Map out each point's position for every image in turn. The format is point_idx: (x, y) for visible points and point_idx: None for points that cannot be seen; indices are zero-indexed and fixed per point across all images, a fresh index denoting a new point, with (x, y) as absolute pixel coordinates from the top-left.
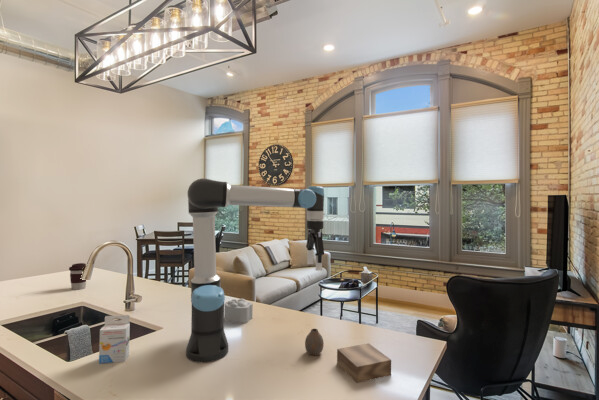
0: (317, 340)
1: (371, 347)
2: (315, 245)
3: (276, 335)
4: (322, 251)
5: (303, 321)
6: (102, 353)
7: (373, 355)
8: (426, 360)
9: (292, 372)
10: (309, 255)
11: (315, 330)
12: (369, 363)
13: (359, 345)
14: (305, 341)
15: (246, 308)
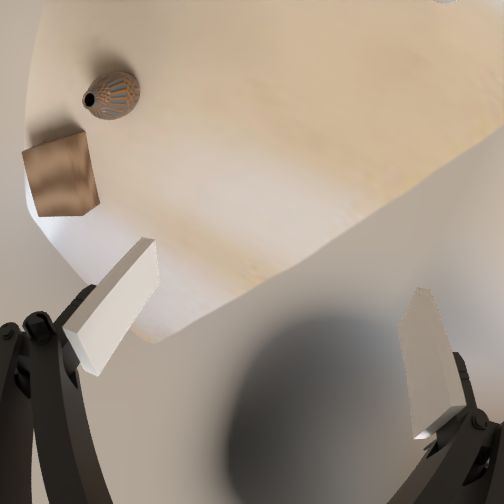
0: (87, 101)
1: (68, 210)
2: (47, 444)
3: (260, 15)
4: (24, 377)
5: (350, 140)
6: None
7: (46, 197)
8: (92, 282)
9: (75, 38)
10: (428, 366)
11: (100, 104)
12: (28, 176)
13: (74, 192)
14: (110, 72)
15: None
